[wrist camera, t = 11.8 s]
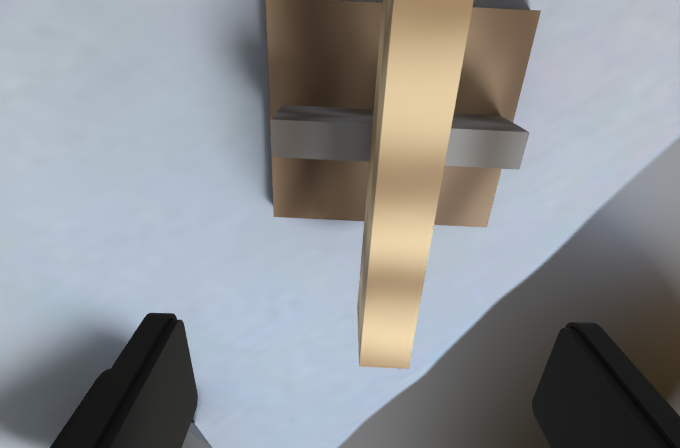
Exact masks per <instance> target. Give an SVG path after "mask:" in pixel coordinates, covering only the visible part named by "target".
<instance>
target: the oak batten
mask: <svg viewBox="0 0 680 448" xmlns="http://www.w3.org/2000/svg"><path fill="white" fill-rule="evenodd" d="M473 1H474V0H383V4H382V16H381V28H380V40H379V52H378V64H377V76H376V88H375V100H374V112H373V124H372V136H371V149H370V161H369V173H368V185H367V197H366V209H365V221H364V233H363V245H362V257H361V269H360V281H359V293H358V305H357V310H358V342H359V366H363V367H384V368H405V369H409V363H410V358H411V352H412V346H413V341H414V335H415V329H416V324H417V318H418V312H419V307H420V301H421V295H422V290H423V284H424V278H425V273H426V267H427V262H428V256H429V250H430V245H431V239H432V233H433V228H434V222H435V216H436V211H437V205H438V199H439V194H440V188H441V182H442V177H443V171H444V165H445V160H446V154H447V148H448V143H449V137H450V132H451V126H452V120H453V115H454V109H455V103H456V98H457V92H458V86H459V81H460V75H461V69H462V64H463V58H464V52H465V47H466V41H467V35H468V30H469V24H470V18H471V13H472V7H473Z"/></svg>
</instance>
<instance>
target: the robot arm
mask: <svg viewBox="0 0 680 448" xmlns="http://www.w3.org/2000/svg"><path fill="white" fill-rule="evenodd" d="M197 400H198V395H197V389H196V384H195V379H194V374H193V368H192V363H191V358H190V353H189V348H188V343H187V338H186V332H185V327H184V323H183V321H182V320H177V318H176V316H175V314H172V313H149V314H147V315H146V317H145V318H144V319H143V321H142V322H141V324H140V325H139V327H138V328H137V330H136V331H135V333H134V334H133V336H132V337H131V339H130V340H129V342H128V344H127V345H126V347H125V348H124V350H123V351H122V353H121V354H120V356H119V357H118V359H117V360H116V362H115V363H114V365H113V366H112V368H111V369H107V370H106V371H104V372H103V373H101V375H100V376H99V377H98V378H97V379H96V381H95V382H94V384H93V385H92V387H91V388H90V390H89V391H88V393H87V394H86V396H85V397H84V399H83V400H82V402H81V403H80V404H79V406H78V407H77V409H76V410H75V412H74V413H73V415H72V416H71V418H70V419H69V421H68V422H67V424H66V425H65V426H64V428H63V429H62V431H61V432H60V434H59V435H58V437H57V438H56V440H55V441H54V443H53V444H52V446H51V447H50V448H182V446H183V443H184V440H185V438H186V435H187V432H188V429H189V427H190V424H191V421H192V419H193V416H194V413H195V410H196V407H197ZM532 408H533V412H534V415H535V417H536V419H537V421H538V423H539V425H540V427H541V429H542V431H543V433H544V435H545V437H546V439H547V441H548V443H549V445H550V447H551V448H680V416H679V415H678V414H677V413H676V412H675V411H674V410H673V408H672V407H671V406H670V405H669V404H668V403H667V401H666V400H665V399H664V398H663V397H662V396H661V395H660V394H659V393H658V391H657V390H656V389H655V388H654V387H653V386H652V384H651V383H650V382H649V381H648V380H647V379H646V378H645V377H644V375H643V374H642V373H641V372H640V371H639V370H638V369H637V368H636V367H635V365H634V364H633V363H632V362H631V361H630V360H629V359H628V357H627V356H626V355H625V354H624V353H623V352H622V350H621V349H620V348H619V347H618V346H617V345H616V344H615V343H614V341H613V340H612V339H611V338H610V337H609V336H608V335H607V334H606V332H605V331H604V330H603V329H602V328H601V327H600V326H599V325H598V324H595V323H576V322H573V323H568V324H567V325H566V327H565V328H562V329H561V330H560V332H559V334H558V336H557V339H556V341H555V344H554V347H553V349H552V352H551V355H550V357H549V360H548V362H547V365H546V367H545V370H544V372H543V375H542V378H541V380H540V383H539V385H538V388H537V390H536V393H535V395H534V398H533V401H532Z"/></svg>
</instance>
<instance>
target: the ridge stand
mask: <svg viewBox="0 0 680 448" xmlns="http://www.w3.org/2000/svg"><path fill="white" fill-rule="evenodd" d="M382 4H383V3H381V2H361V1H342V0H266V23H267V50H268V76H269V103H270V130H271V156H272V183H273V209H274V217H290V218H310V219H330V220H351V221H365V209H366V197H367V185H368V173H369V161H370V149H371V136H372V124H373V112H374V100H375V88H376V76H377V64H378V52H379V40H380V28H381V16H382ZM540 12H541V11H537V10H518V9H498V8H479V7H472V13H471V18H470V24H469V30H468V35H467V41H466V47H465V52H464V58H463V64H462V69H461V75H460V81H459V86H458V92H457V98H456V103H455V109H454V115H453V120H452V126H451V132H450V137H449V143H448V148H447V154H446V160H445V165H444V171H443V177H442V182H441V188H440V194H439V199H438V205H437V211H436V216H435V222H434V225H451V226H472V227H487V225H488V221H489V217H490V213H491V209H492V205H493V201H494V197H495V193H496V188H497V184H498V180H499V176H500V172H501V169H520V165H521V161H522V158H523V154H524V150H525V147H526V143H527V139H528V136H529V132H528V131H526V130H524V129H523V128H521V127H519V126H518V125H516V124H514V123H513V120H514V116H515V112H516V108H517V104H518V100H519V96H520V92H521V88H522V84H523V80H524V76H525V72H526V68H527V64H528V60H529V56H530V52H531V48H532V44H533V40H534V36H535V32H536V28H537V24H538V20H539V16H540Z"/></svg>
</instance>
